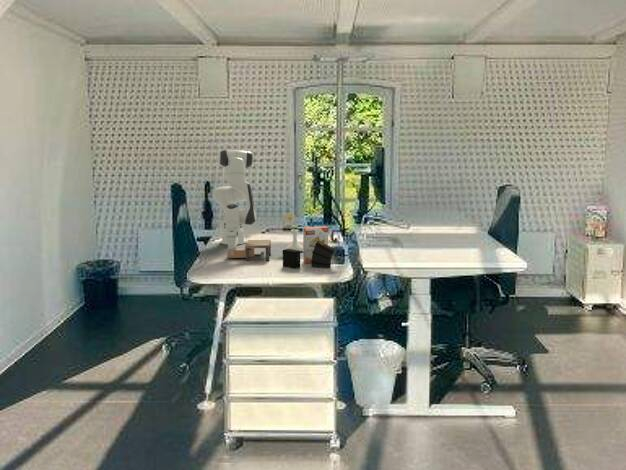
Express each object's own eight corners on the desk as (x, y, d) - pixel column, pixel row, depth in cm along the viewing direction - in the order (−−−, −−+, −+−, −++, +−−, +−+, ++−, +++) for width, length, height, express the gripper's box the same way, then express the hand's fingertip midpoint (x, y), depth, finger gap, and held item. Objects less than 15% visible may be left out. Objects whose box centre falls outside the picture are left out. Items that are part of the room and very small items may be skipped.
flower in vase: (305, 249, 441) (304, 211, 436) (303, 253, 430) (302, 214, 425) (284, 249, 442) (284, 211, 438) (282, 253, 431) (281, 213, 427)
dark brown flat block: (307, 262, 395) (318, 240, 391) (327, 273, 393) (338, 250, 389) (305, 264, 391) (316, 241, 387) (325, 275, 389) (336, 252, 385)
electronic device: (295, 269, 387) (295, 251, 385) (282, 266, 393) (282, 249, 392) (300, 267, 390) (300, 250, 388) (287, 265, 396) (287, 248, 395)
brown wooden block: (228, 255, 420) (228, 248, 419) (254, 255, 420) (254, 248, 419) (227, 257, 414) (227, 250, 414) (253, 257, 414) (253, 250, 413)
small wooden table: (248, 254, 427) (248, 239, 425) (270, 254, 427) (270, 239, 425) (245, 261, 408) (245, 245, 406) (269, 261, 408) (268, 245, 406)
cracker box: (305, 263, 400) (305, 228, 396) (303, 261, 405) (302, 227, 402) (328, 262, 403) (328, 227, 400) (325, 260, 409) (325, 225, 405)
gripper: (229, 228, 425) (230, 250, 427) (225, 234, 405) (226, 257, 407) (240, 228, 425) (240, 250, 427) (236, 234, 404) (236, 257, 407)
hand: (233, 253), depth 417 cm, fingers closed on brown wooden block, 6 cm apart
